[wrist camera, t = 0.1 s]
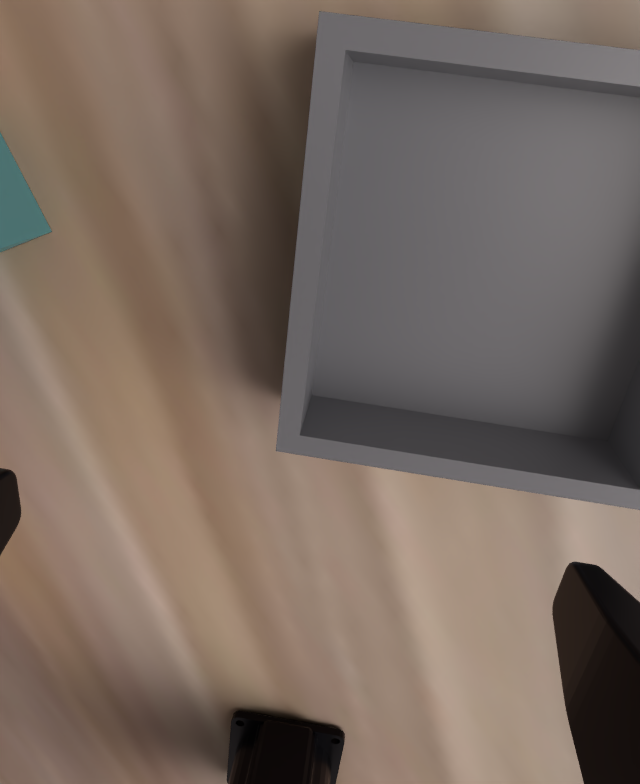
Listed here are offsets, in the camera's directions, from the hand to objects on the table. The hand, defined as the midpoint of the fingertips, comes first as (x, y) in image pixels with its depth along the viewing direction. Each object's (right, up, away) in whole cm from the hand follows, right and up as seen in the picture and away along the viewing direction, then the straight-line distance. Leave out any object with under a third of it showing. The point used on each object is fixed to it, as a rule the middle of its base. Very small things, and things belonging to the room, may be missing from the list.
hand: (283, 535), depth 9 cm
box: (+7, +7, +12) cm, 16 cm away
